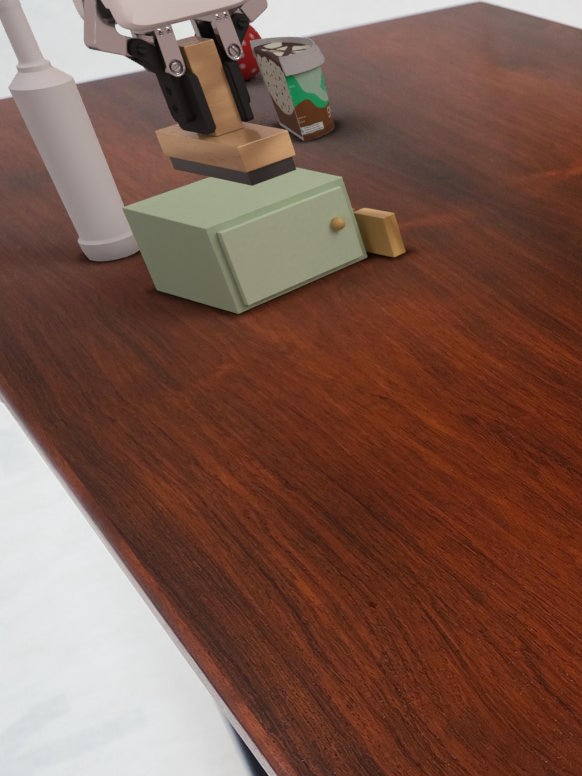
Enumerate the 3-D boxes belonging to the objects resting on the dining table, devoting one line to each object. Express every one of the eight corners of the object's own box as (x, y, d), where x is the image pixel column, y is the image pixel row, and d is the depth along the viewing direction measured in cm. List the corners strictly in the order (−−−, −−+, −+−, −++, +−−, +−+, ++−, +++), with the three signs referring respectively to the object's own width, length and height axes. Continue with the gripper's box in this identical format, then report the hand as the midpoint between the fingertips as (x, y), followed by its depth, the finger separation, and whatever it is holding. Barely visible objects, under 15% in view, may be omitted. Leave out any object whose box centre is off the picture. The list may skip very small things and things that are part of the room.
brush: (251, 187, 88) (204, 55, 83) (169, 170, 92) (119, 42, 87) (301, 169, 91) (257, 40, 86) (219, 152, 94) (173, 28, 89)
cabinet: (249, 317, 113) (216, 231, 109) (156, 290, 119) (121, 207, 114) (378, 260, 123) (353, 178, 119) (287, 237, 129) (259, 159, 124)
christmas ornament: (193, 88, 176) (164, 12, 170) (235, 71, 183) (209, -3, 177) (246, 90, 174) (220, 13, 169) (287, 72, 181) (263, -2, 176)
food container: (359, 132, 157) (334, 47, 151) (308, 143, 154) (280, 58, 148) (325, 111, 165) (300, 30, 159) (275, 122, 162) (248, 39, 156)
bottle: (156, 243, 129) (46, -22, 114) (115, 263, 125) (-4, -9, 110) (113, 240, 130) (-1, -23, 116) (72, 260, 126) (-51, -10, 112)
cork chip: (382, 218, 121) (394, 212, 122) (352, 212, 123) (364, 207, 124) (394, 257, 124) (406, 252, 125) (364, 251, 125) (376, 246, 126)
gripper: (189, -190, 86) (281, 88, 97) (-62, -159, 75) (73, 153, 85) (262, -188, 83) (349, 99, 94) (12, -155, 72) (143, 168, 82)
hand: (217, 122), depth 89 cm, fingers closed on brush, 2 cm apart
